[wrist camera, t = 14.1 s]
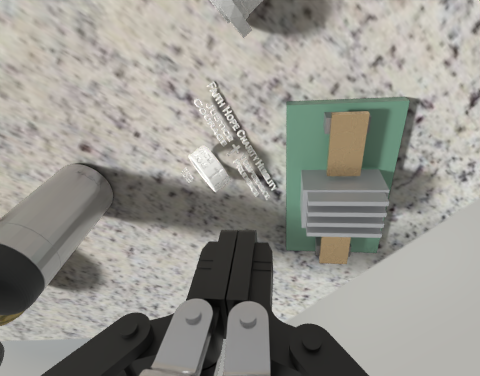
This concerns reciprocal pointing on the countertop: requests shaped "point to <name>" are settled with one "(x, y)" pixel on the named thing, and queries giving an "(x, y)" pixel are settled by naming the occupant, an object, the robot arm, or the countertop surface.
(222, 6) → the mechanical component
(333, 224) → the board
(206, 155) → the wide band ring
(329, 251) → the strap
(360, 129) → the wooden block
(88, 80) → the countertop surface
